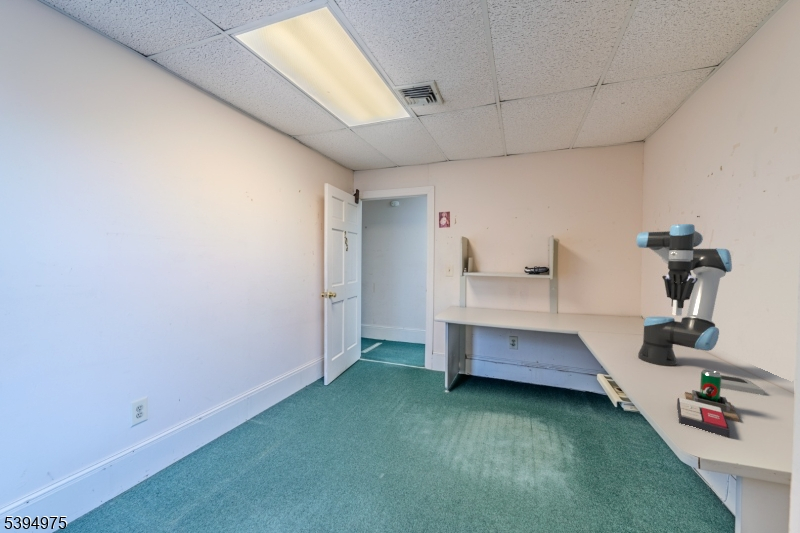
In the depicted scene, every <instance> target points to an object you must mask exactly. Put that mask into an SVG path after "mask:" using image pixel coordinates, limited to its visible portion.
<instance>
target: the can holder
mask: <svg viewBox="0 0 800 533" xmlns="http://www.w3.org/2000/svg"><path fill="white" fill-rule="evenodd" d="M684 396H685V399H687V400H691V401H695V402H699V403H703V404H707V405H711V406H716V407H719V408H721V409H722V410H723V413H724V416H725V419H726V420H731V421H733V422H737V423H740V417H739V416H738V414H737V412H736V410H735V408H734V407H733V404H732V403H731V402H730V401H728V400H727V397H726V396H721V395H720V403H717V402H712V401H708V400H704V399H700V390H698V391H697V390H694V389H692V390H691V392H687V391H685V392H684Z"/></svg>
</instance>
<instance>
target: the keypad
mask: <svg viewBox="0 0 800 533" xmlns="http://www.w3.org/2000/svg"><path fill="white" fill-rule="evenodd" d="M720 375H721V389H722V390H723V389H724V390H731V391H737V392H742V393H749V394H754V395H759V394H760V395H759V396H764V392H765V391H764V389H762V388H761V387H759V386H758V385H757V384H755V383H754V382H752V381H751V380H749V379H747V378H744V377H738V376H730V375H725V374H720Z"/></svg>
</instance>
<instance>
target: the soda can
mask: <svg viewBox="0 0 800 533" xmlns="http://www.w3.org/2000/svg"><path fill="white" fill-rule="evenodd" d="M721 375H722V374H721V373H720V372H718V371H716V370H711V369H702V371H701V372H700V387H699V392H700V399H704V400H708V401H712V402H717V403H720V396H721V391H722V390H721V389H722V388H721Z"/></svg>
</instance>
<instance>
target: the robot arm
mask: <svg viewBox="0 0 800 533" xmlns="http://www.w3.org/2000/svg"><path fill="white" fill-rule="evenodd" d="M695 226H696V225H694V224H691V223H681V224H680V223H678V224H673V225H671V226H670V229H669V230H668V231H646V232H639V233H638V234H637V235H636V245H637V247H638V248H642V249H646V248H647V249H650V250H651V251H652V252H654V253H655V254H656V255H658V256H659V257H661V260H662V261H663V262H664V263H665V264H667V268H668V273H667V274H666V275H662V280H663V282H664V288H665V291H666V292H665V294H666V297H667V298H669V299H671V307H672V312H671V314H672V316H677V317H678V316H679V317H681V316H682V315H683V309H684V307H685V306H684V305H685V301H689V305H688V310H687V314H686V316H683V317H682V318H681V321H676V319H675V317H671V316H648V317H646V318H644V321H643V322H644V323H643V340H642V341H643V342H642V345H641V347H640V349H639V351H638V354H637V357H638V359H639V360H641V361H643V362H647V363H649V364H655V365H659V366H666V367H667V366H669V367H672V366H676V365H677V361H678V360H677V357H676V355H675V351H674V349H673V348H674V347H673V346H674V345H676V346H681V347H685V348H690V349H695V350H700V351H707V352H709V351H712V350H713V349H714V348H715V347H716V345H717V342H718V340H719V335H720V329H719V328H718V327H716V323H715V322H714V321H712V320H713V316H714V311H715V310H714V309H715V305H716V301H717V295H718V291H719V287H720V286H719V285H720V280H721V278H723V277H725V276H726V274H727V273H730V272H732V270H733V263H732V262H733V261H732V255H731V252H730V250H729V249H727V248H696V247H699V246H700V245H701V244H702V242H703V240H704V236H703V235H702V234H701V232H699V231H696V228H695ZM691 271H692V272H691ZM692 273H693V274H694V275H695V276H693V275H692Z"/></svg>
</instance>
